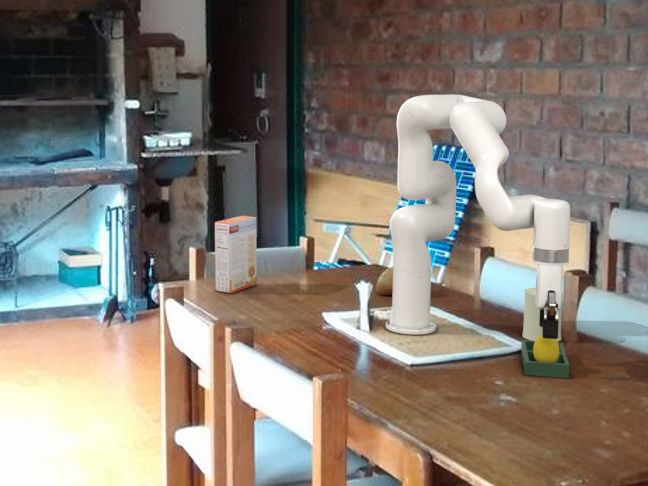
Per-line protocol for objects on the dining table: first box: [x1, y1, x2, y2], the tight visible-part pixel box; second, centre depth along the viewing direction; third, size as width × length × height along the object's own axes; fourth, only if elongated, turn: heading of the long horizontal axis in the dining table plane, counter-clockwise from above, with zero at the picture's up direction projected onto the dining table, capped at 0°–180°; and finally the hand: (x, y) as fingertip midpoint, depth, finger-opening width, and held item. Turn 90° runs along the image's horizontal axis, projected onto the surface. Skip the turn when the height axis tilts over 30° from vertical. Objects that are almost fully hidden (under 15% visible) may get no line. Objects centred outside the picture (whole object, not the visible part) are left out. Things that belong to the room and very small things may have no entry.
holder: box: [520, 339, 570, 379], centre depth 228 cm, size 9×17×3 cm, turn 167°
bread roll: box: [375, 266, 393, 296], centre depth 295 cm, size 10×15×8 cm, turn 113°
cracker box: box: [214, 215, 258, 294], centre depth 300 cm, size 14×6×21 cm, turn 144°
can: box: [522, 287, 564, 343], centre depth 250 cm, size 9×9×12 cm
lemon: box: [533, 335, 559, 363], centre depth 224 cm, size 6×6×8 cm
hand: (548, 332), depth 223 cm, fingers open, 9 cm apart
